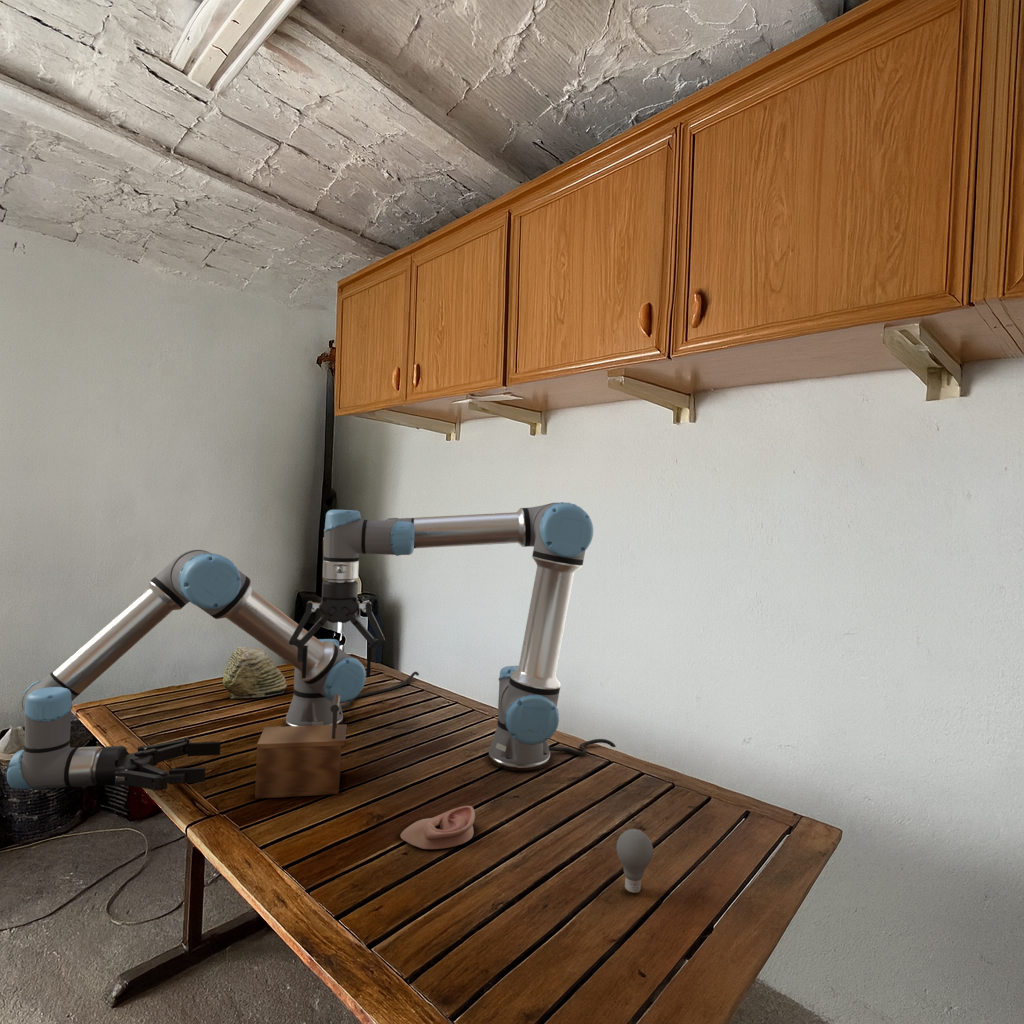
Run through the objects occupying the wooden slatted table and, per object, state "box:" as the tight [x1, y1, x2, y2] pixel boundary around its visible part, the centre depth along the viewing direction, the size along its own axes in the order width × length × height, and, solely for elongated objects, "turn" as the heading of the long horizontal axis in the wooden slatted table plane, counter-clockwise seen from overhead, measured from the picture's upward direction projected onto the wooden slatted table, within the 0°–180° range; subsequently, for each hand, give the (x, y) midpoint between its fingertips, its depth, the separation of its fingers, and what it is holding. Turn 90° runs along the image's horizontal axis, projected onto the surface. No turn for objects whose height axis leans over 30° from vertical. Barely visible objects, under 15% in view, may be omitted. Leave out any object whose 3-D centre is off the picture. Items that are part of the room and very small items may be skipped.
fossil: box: [222, 646, 288, 699], centre depth 198 cm, size 9×18×15 cm, turn 132°
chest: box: [254, 746, 342, 800], centre depth 138 cm, size 17×10×10 cm, turn 103°
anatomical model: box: [399, 805, 476, 850], centre depth 121 cm, size 13×4×12 cm
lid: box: [256, 694, 348, 750], centre depth 138 cm, size 18×10×8 cm, turn 103°
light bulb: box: [615, 828, 654, 894], centre depth 106 cm, size 6×6×10 cm
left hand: (213, 760), depth 134 cm, fingers open, 13 cm apart
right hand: (336, 676), depth 139 cm, fingers open, 13 cm apart
